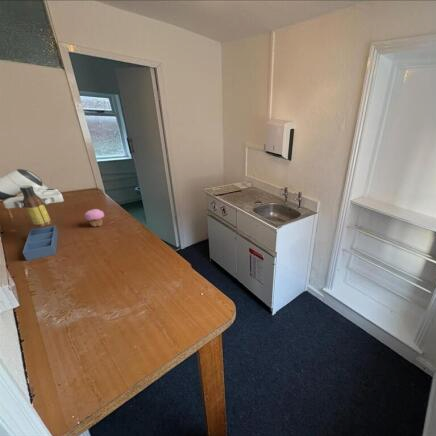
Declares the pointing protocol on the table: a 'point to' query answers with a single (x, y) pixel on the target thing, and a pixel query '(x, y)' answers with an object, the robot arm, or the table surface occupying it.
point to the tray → (41, 243)
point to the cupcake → (94, 217)
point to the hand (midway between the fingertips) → (33, 204)
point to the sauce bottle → (35, 207)
